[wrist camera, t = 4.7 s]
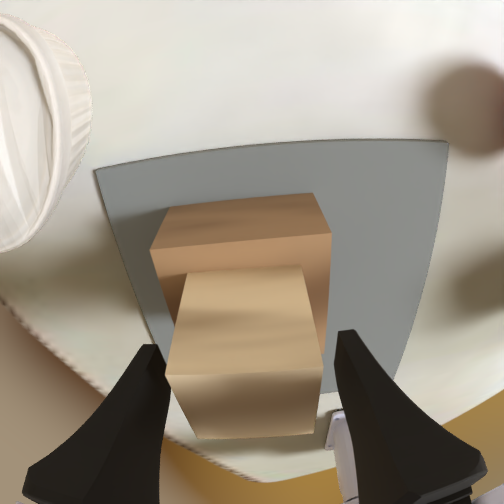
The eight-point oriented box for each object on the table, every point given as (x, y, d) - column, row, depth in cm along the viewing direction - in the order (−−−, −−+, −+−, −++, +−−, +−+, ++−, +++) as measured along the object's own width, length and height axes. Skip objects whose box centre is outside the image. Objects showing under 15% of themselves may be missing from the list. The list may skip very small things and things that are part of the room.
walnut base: (312, 302, 19) (324, 353, 16) (196, 312, 19) (188, 363, 16) (312, 192, 15) (331, 233, 12) (169, 206, 16) (149, 249, 12)
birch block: (299, 341, 15) (313, 433, 11) (206, 347, 15) (197, 438, 11) (300, 264, 13) (323, 366, 8) (187, 272, 13) (164, 374, 9)
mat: (391, 378, 25) (392, 381, 24) (183, 398, 25) (183, 402, 25) (445, 140, 14) (449, 142, 14) (98, 168, 15) (95, 171, 14)
